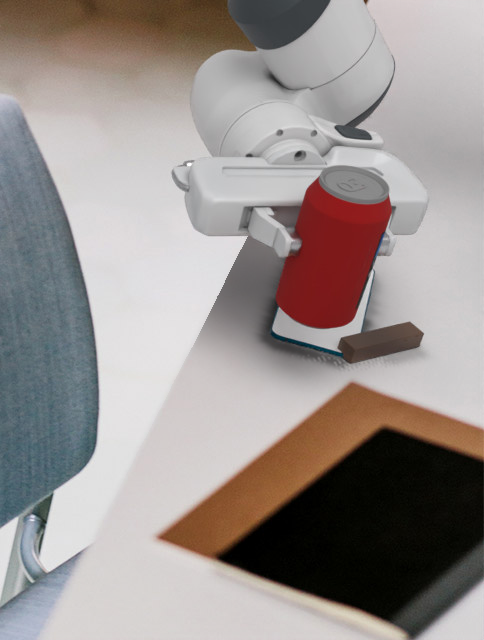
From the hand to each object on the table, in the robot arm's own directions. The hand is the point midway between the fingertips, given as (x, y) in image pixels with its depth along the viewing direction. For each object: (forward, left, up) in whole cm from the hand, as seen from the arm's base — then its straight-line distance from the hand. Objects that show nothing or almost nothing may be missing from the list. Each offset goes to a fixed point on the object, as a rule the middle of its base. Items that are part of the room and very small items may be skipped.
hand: (339, 249), depth 93 cm
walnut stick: (-8, -4, -12) cm, 15 cm away
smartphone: (-5, -11, -13) cm, 18 cm away
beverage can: (0, -1, -7) cm, 7 cm away
